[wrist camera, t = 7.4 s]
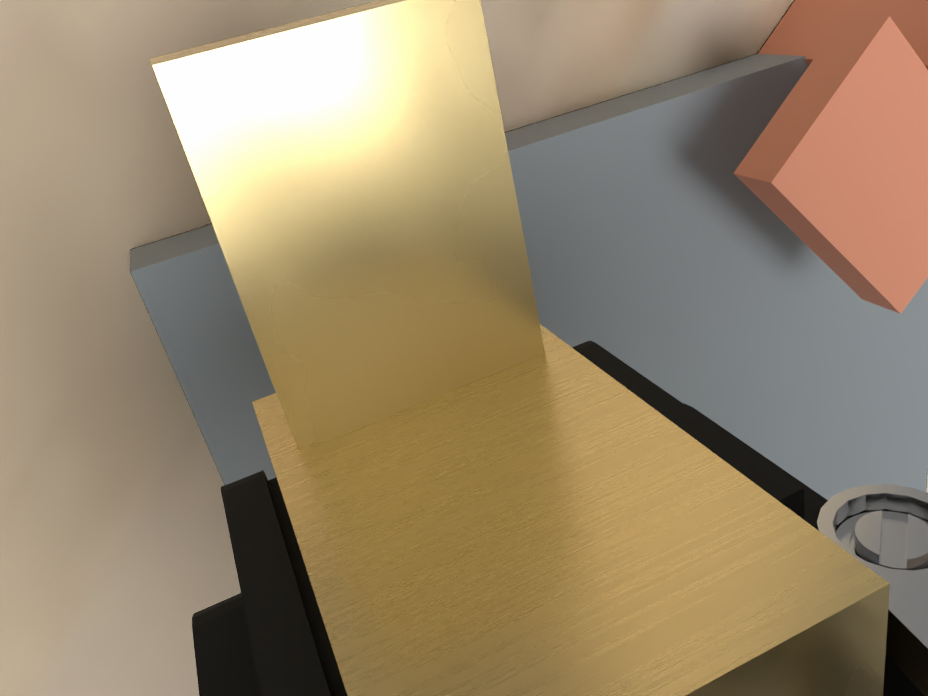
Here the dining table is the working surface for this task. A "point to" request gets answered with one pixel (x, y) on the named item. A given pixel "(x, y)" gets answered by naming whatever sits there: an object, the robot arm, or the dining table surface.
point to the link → (477, 400)
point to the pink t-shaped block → (853, 143)
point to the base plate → (637, 289)
